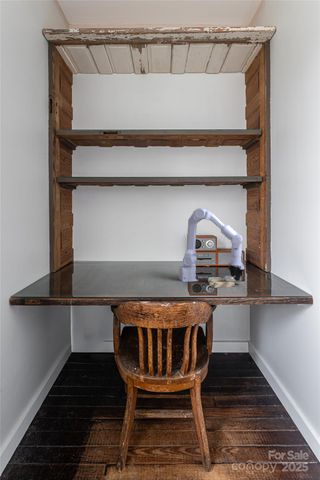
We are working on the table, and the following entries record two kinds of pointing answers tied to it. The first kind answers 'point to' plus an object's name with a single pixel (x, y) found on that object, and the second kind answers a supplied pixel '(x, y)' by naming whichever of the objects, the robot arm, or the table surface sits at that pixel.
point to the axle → (231, 279)
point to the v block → (215, 278)
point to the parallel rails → (221, 283)
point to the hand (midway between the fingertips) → (235, 279)
